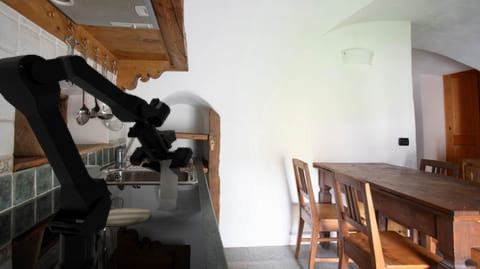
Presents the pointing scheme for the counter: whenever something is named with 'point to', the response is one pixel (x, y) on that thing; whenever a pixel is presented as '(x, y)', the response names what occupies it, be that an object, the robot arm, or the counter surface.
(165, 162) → the translucent tall glass
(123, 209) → the wooden board
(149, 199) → the counter surface
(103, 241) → the counter surface
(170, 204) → the grey upright block
